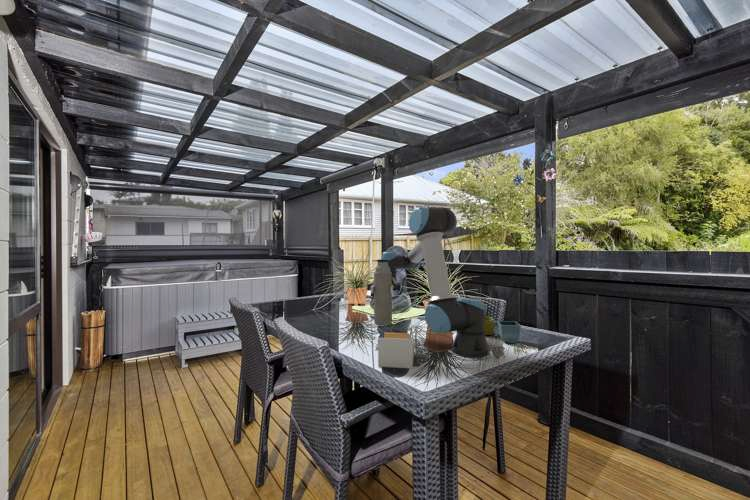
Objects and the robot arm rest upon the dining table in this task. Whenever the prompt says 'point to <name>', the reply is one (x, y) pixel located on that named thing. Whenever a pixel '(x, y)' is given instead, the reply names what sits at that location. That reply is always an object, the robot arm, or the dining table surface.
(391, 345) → the white open box
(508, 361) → the dining table surface
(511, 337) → the flower pot
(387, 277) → the thermos bottle
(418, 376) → the dining table surface
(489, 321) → the mug
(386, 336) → the pusher
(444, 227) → the robot arm
